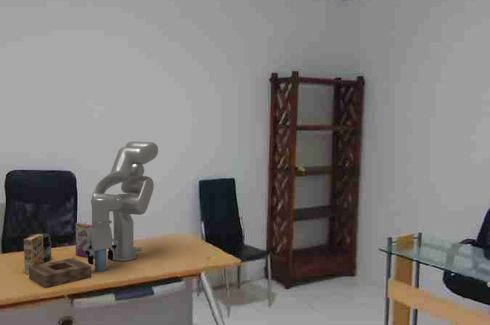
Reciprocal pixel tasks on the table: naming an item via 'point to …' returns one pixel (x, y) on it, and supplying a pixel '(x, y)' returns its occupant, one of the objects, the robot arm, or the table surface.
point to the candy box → (33, 251)
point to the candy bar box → (82, 237)
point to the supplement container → (46, 246)
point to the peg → (100, 260)
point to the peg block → (59, 272)
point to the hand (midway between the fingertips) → (100, 261)
